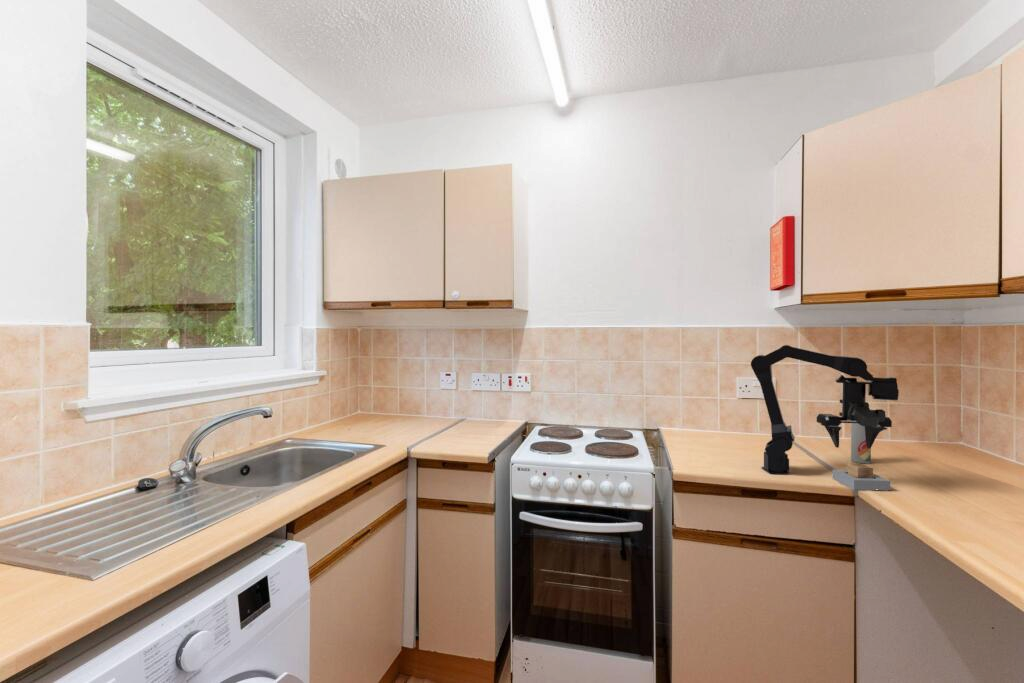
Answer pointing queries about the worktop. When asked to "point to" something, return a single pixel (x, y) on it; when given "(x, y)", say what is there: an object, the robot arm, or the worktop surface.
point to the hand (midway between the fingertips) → (852, 447)
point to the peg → (860, 471)
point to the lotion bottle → (859, 445)
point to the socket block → (861, 481)
